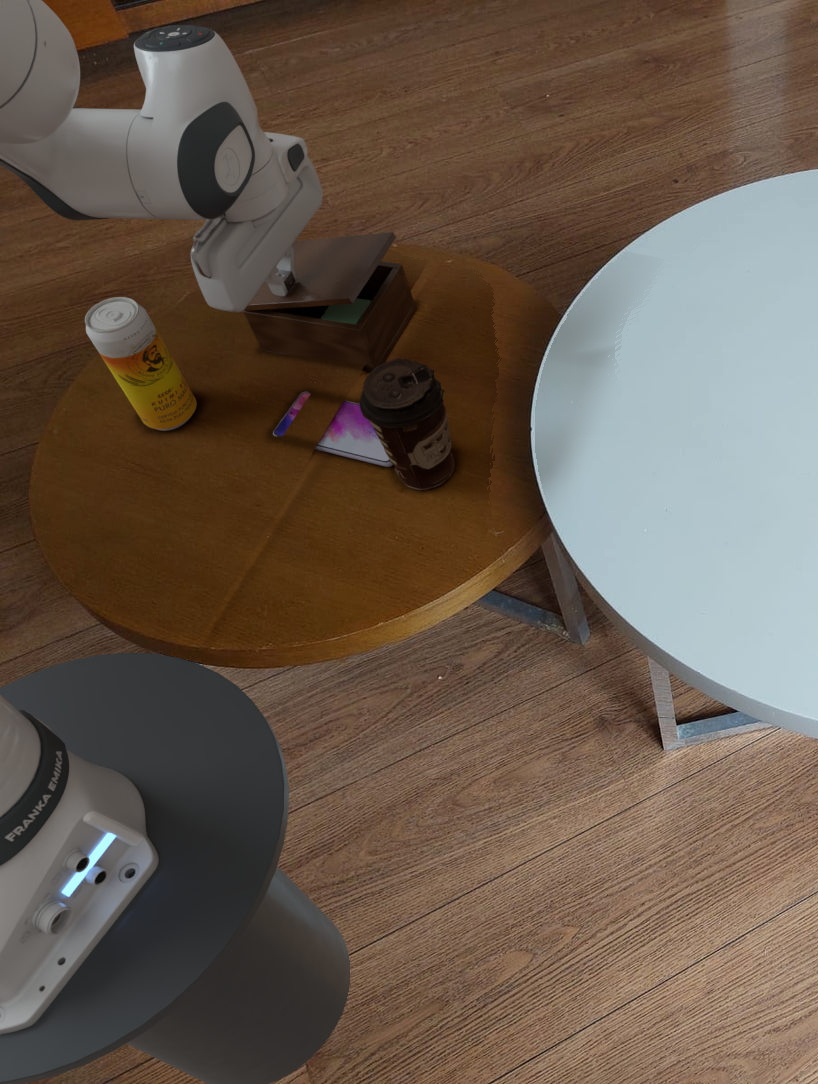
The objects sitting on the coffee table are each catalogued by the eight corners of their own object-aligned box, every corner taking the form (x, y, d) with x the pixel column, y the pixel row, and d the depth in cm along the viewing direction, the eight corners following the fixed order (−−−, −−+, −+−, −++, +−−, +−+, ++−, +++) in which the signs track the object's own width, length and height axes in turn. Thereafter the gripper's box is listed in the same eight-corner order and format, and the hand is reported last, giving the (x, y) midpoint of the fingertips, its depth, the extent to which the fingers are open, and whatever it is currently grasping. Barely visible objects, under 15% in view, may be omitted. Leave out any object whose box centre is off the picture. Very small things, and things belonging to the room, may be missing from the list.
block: (354, 325, 126) (318, 320, 127) (365, 354, 129) (331, 348, 130) (371, 300, 128) (336, 294, 129) (381, 329, 132) (347, 323, 133)
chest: (416, 308, 135) (402, 264, 130) (376, 373, 129) (359, 330, 123) (308, 291, 138) (290, 247, 132) (264, 355, 131) (242, 311, 126)
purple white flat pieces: (390, 465, 119) (269, 435, 122) (392, 470, 120) (272, 440, 123) (420, 417, 123) (302, 389, 126) (422, 422, 124) (305, 394, 127)
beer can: (177, 439, 123) (115, 339, 111) (132, 426, 125) (67, 325, 113) (210, 403, 127) (154, 302, 115) (167, 390, 128) (107, 288, 116)
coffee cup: (479, 446, 122) (454, 360, 111) (451, 504, 117) (422, 419, 106) (405, 434, 123) (374, 348, 112) (375, 490, 118) (339, 405, 108)
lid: (396, 237, 127) (393, 231, 126) (352, 304, 120) (349, 298, 119) (290, 247, 132) (287, 241, 132) (243, 311, 125) (239, 305, 125)
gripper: (215, 250, 107) (267, 355, 118) (311, 130, 118) (350, 235, 129) (157, 242, 108) (214, 346, 119) (258, 123, 119) (301, 228, 130)
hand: (285, 287), depth 124 cm, fingers closed
